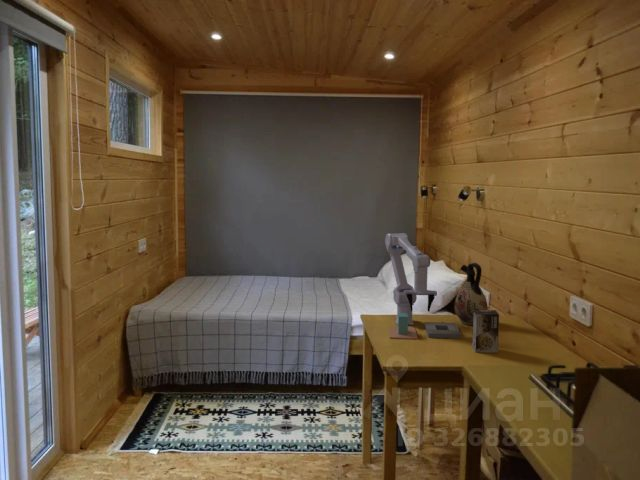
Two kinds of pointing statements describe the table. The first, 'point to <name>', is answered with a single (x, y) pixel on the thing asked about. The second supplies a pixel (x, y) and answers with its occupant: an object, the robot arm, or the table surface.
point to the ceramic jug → (470, 295)
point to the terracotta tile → (394, 334)
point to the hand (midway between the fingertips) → (420, 310)
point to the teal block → (402, 323)
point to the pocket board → (442, 330)
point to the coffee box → (485, 331)
